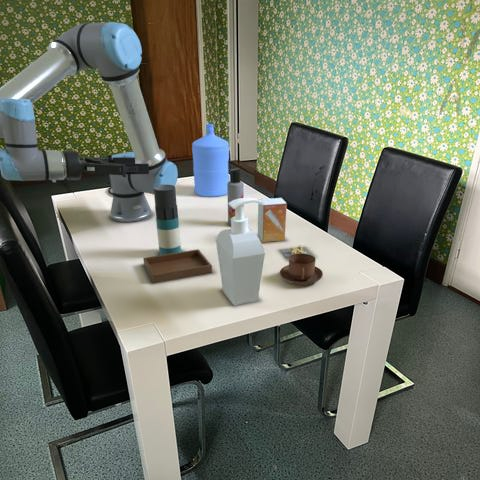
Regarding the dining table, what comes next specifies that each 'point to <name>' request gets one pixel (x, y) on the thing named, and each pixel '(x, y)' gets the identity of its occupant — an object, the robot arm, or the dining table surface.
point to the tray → (177, 266)
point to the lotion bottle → (234, 190)
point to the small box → (272, 219)
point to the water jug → (210, 164)
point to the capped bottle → (168, 236)
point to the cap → (165, 202)
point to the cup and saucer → (301, 270)
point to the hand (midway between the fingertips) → (141, 165)
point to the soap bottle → (240, 257)
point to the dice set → (294, 251)
